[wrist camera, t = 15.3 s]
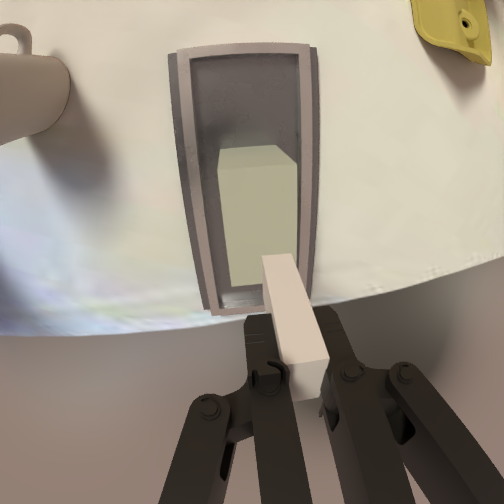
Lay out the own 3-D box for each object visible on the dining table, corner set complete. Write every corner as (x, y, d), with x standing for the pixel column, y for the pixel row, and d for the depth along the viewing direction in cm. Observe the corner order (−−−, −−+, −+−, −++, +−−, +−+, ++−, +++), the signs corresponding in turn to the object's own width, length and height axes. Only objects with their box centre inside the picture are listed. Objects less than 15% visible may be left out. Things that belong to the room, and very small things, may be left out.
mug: (72, 124, 21) (1, 147, 11) (16, 139, 20) (-50, 168, 10) (76, 18, 14) (12, -3, 5) (18, 44, 14) (-48, 43, 4)
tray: (204, 305, 33) (203, 316, 32) (169, 55, 19) (164, 51, 17) (308, 294, 34) (312, 305, 32) (313, 49, 19) (320, 45, 18)
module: (229, 240, 28) (232, 289, 21) (220, 149, 23) (217, 170, 16) (278, 235, 28) (295, 282, 21) (275, 144, 23) (296, 164, 17)
